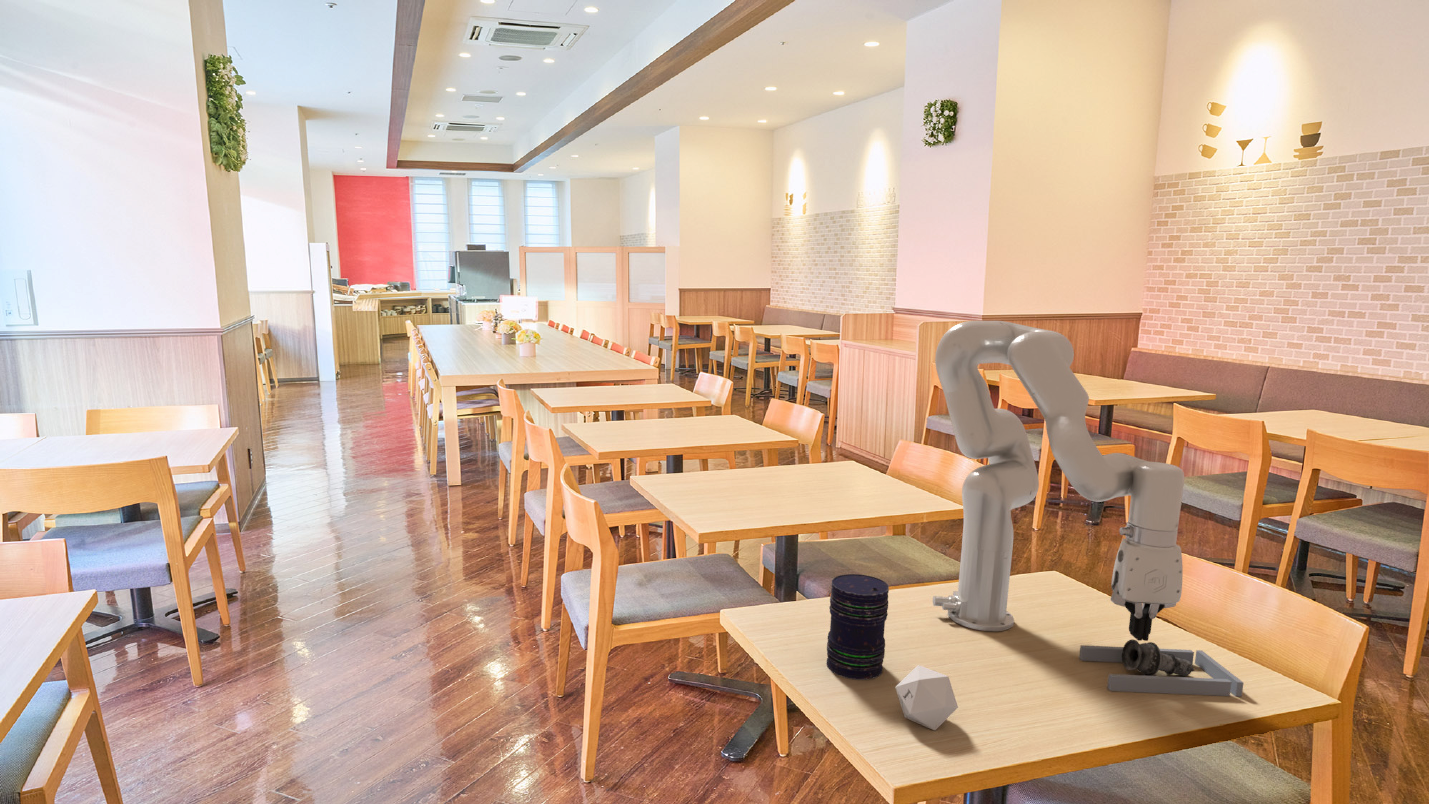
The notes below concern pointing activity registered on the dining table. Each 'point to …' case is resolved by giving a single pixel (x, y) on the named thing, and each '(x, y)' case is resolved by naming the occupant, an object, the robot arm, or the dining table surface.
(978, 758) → the dining table surface
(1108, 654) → the frame
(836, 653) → the dark blue cylinder
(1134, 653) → the dark ringed finial
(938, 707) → the die
